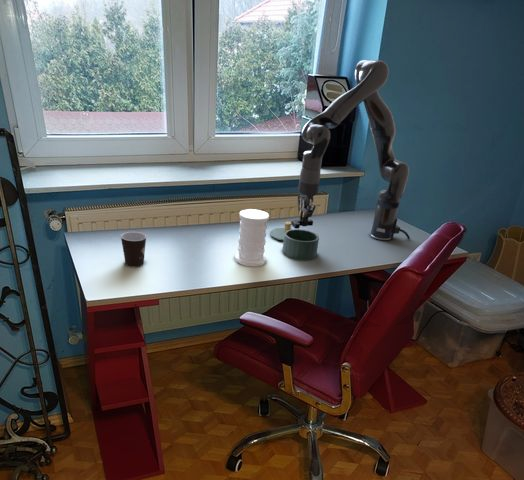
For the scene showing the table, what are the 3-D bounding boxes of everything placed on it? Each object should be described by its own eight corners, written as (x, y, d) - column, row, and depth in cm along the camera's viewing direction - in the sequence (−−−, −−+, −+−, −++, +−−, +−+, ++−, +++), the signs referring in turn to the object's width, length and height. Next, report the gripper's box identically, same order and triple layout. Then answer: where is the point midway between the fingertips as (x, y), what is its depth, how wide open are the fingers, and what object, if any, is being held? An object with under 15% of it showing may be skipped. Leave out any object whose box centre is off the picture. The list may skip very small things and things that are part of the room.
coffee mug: (135, 270, 185) (134, 242, 180) (117, 262, 189) (115, 236, 183) (157, 260, 194) (157, 234, 188) (139, 253, 197) (139, 228, 192)
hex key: (310, 224, 210) (311, 219, 209) (315, 228, 206) (316, 223, 205) (290, 224, 207) (291, 219, 206) (295, 228, 204) (295, 224, 203)
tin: (308, 246, 220) (311, 228, 216) (321, 259, 209) (324, 241, 205) (277, 247, 216) (280, 229, 212) (289, 260, 205) (291, 242, 201)
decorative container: (230, 255, 204) (233, 209, 195) (258, 253, 209) (262, 208, 199) (241, 267, 196) (245, 220, 186) (270, 264, 200) (275, 218, 190)
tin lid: (296, 230, 235) (298, 216, 232) (308, 242, 224) (310, 228, 220) (265, 230, 231) (266, 217, 227) (275, 243, 219) (277, 229, 216)
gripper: (325, 185, 194) (318, 231, 204) (311, 175, 205) (305, 218, 214) (306, 185, 192) (300, 231, 201) (293, 175, 203) (288, 218, 212)
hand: (303, 224), depth 208 cm, fingers closed on hex key, 2 cm apart
